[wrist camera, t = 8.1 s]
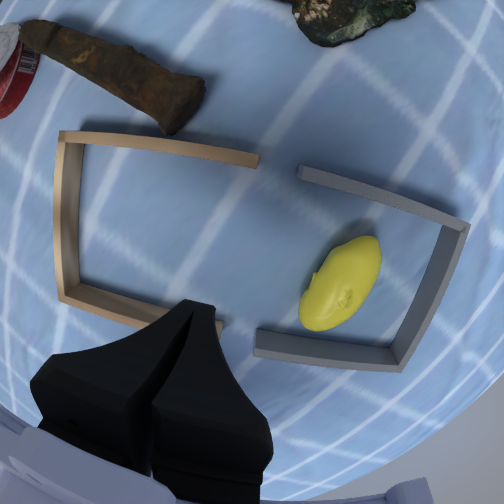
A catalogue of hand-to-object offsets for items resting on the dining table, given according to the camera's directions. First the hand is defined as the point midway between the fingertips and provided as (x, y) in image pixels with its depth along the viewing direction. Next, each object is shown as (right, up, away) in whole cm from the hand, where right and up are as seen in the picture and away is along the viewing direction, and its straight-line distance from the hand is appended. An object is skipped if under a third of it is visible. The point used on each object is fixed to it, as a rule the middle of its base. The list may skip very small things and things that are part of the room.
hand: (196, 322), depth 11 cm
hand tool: (-9, +17, +4) cm, 20 cm away
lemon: (+8, +1, +9) cm, 12 cm away
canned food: (-21, +20, +3) cm, 30 cm away
